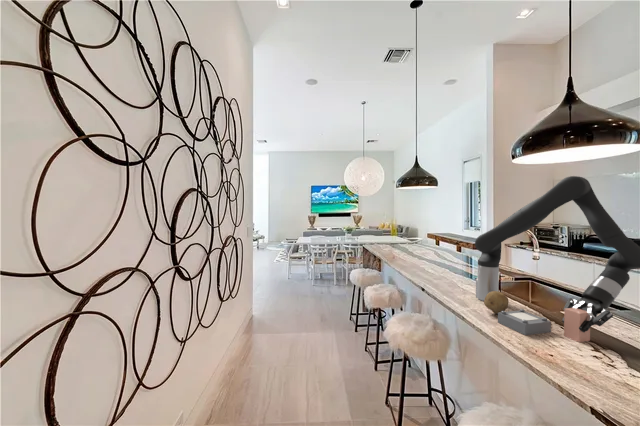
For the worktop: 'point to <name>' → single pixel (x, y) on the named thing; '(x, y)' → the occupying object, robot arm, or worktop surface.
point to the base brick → (524, 322)
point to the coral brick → (575, 324)
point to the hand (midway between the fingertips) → (572, 326)
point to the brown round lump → (496, 301)
